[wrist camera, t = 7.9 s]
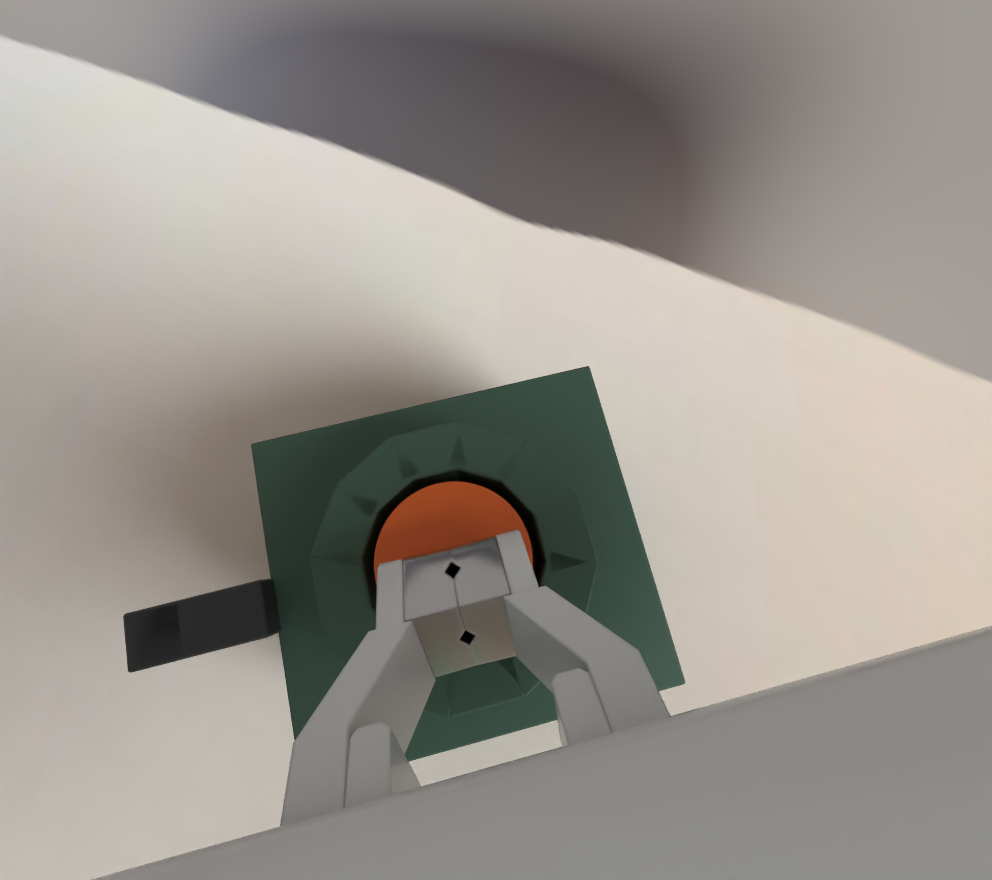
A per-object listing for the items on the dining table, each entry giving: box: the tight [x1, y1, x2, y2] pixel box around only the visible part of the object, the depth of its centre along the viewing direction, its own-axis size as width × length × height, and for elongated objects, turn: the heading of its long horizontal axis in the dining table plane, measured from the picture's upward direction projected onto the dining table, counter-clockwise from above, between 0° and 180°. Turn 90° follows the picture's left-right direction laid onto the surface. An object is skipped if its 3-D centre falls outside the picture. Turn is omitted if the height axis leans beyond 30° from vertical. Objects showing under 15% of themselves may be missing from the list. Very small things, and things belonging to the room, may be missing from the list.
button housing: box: [251, 366, 685, 762], centre depth 16 cm, size 10×9×10 cm
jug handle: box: [123, 579, 281, 672], centre depth 16 cm, size 3×1×7 cm, turn 104°
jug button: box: [374, 481, 533, 585], centre depth 12 cm, size 4×4×2 cm
